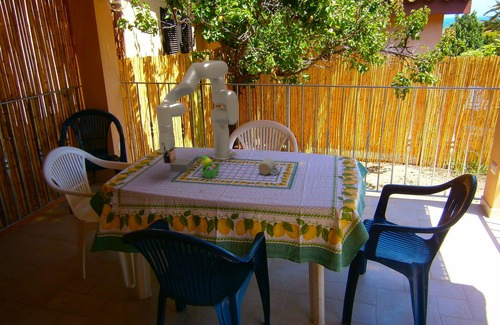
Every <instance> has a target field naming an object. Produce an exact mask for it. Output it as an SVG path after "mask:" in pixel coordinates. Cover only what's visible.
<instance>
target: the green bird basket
mask: <svg viewBox="0 0 500 325" xmlns="http://www.w3.org/2000/svg"><path fill="white" fill-rule="evenodd" d="M200 160H201V165H202V166H203V167H202V168H201V173H202V175H203V178H204V179H214V178H215V177H216V175H218V173H219V169H220V166H221V165H220V164H221V163H214V162H213V163H212V161H213V159H211V158H209V157H208V156H206V155H202V157H201V159H200Z"/></svg>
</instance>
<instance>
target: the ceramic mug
mask: <svg viewBox="0 0 500 325" xmlns="http://www.w3.org/2000/svg"><path fill="white" fill-rule="evenodd" d="M276 166H277V164H276V162H275V161H274V159H273V158H270V157H266V158H264V159H263V160H262V161H261V162H260V163H259V165H258V171H259V173H260V174H261V175H265V176H267V175H269V174H271V175H273V176H277V174H279V173H280V171H279V169H278V168H277V167H276ZM274 171H275V172H274Z"/></svg>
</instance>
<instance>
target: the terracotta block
mask: <svg viewBox="0 0 500 325" xmlns="http://www.w3.org/2000/svg"><path fill="white" fill-rule="evenodd" d="M165 152H166V153H167V151H165ZM161 154H162V153H161ZM169 156H170V163H168V165H170V164H172V163H174V162H175V161H176V159H177V158H176V156H177V155H176V150H175V149H174V150H169ZM162 161H163V162H162V163H163V164H165V163H164V156H163V154H162Z"/></svg>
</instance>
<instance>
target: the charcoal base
mask: <svg viewBox="0 0 500 325" xmlns="http://www.w3.org/2000/svg"><path fill="white" fill-rule="evenodd" d="M169 166H170V171H171V172H181V173H182V172H183V173H185V172H186V173H187V172H189V171H191V169H193V167H194V159H187V158H185V159H184V158H176V161H175V162H174V163H172V164H169Z"/></svg>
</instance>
